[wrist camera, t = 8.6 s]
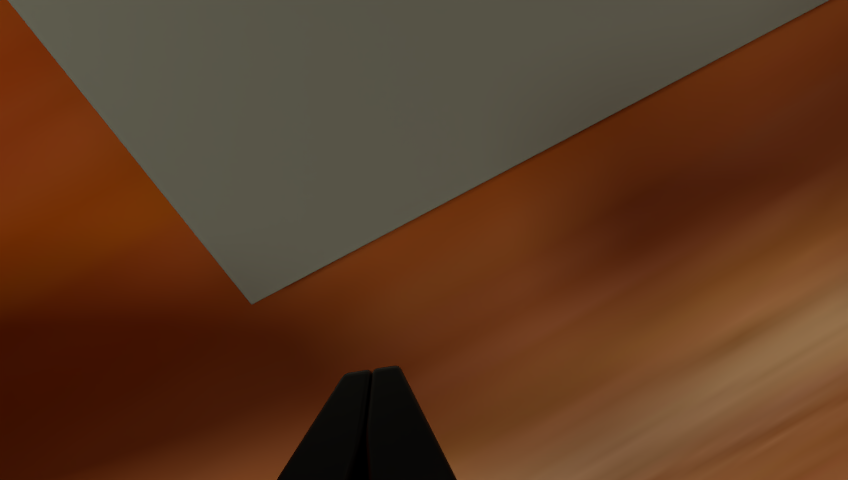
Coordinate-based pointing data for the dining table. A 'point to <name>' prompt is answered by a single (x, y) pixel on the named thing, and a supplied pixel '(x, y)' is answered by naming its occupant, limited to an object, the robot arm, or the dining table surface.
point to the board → (362, 101)
